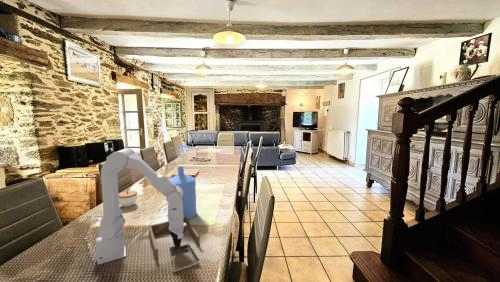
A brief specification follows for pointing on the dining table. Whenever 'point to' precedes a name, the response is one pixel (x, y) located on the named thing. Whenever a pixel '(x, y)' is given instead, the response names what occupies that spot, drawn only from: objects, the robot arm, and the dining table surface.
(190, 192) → the water jug
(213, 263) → the dining table surface
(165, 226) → the walnut u-shaped frame
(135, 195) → the lidded jar
